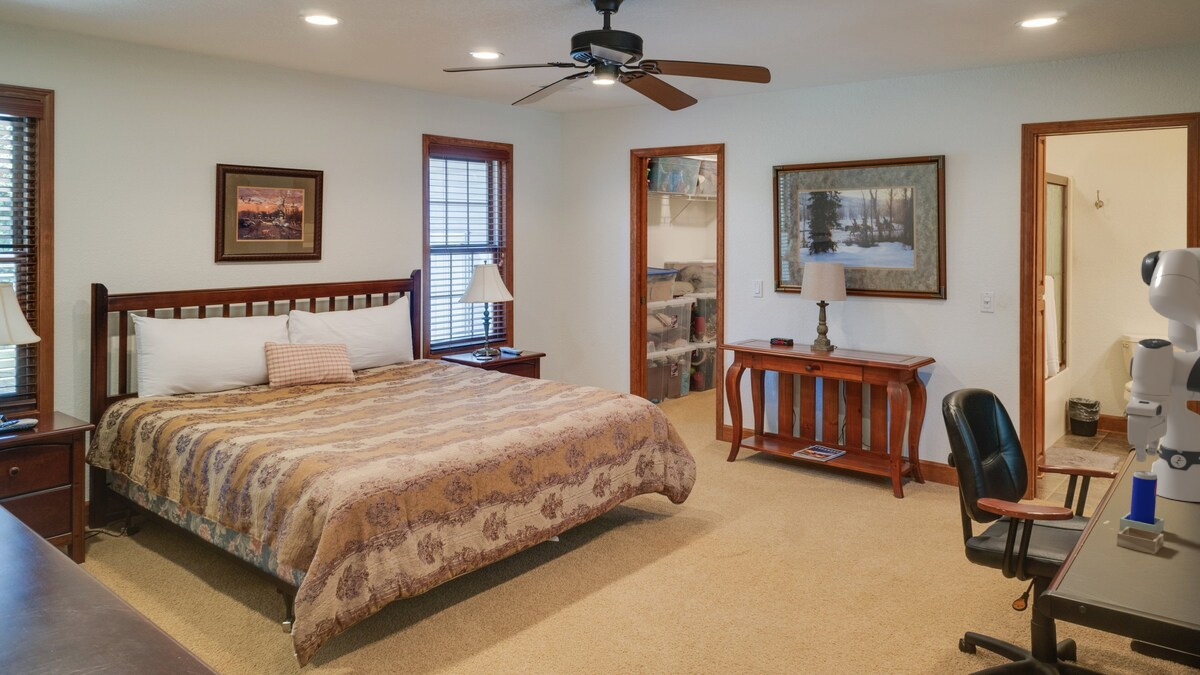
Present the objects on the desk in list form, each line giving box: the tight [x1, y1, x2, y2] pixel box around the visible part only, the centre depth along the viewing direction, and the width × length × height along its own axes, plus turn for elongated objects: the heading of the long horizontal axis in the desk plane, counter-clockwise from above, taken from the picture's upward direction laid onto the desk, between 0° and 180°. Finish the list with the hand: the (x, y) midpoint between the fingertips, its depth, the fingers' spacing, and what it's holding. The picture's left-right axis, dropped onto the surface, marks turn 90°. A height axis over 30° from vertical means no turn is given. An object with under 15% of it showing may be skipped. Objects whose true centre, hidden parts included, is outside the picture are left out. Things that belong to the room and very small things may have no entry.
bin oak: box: [1116, 526, 1165, 555], centre depth 203 cm, size 8×8×3 cm
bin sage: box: [1118, 511, 1165, 534], centre depth 214 cm, size 8×8×3 cm
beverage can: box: [1130, 470, 1157, 525], centre depth 214 cm, size 5×5×15 cm
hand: (1146, 458), depth 212 cm, fingers open, 8 cm apart
